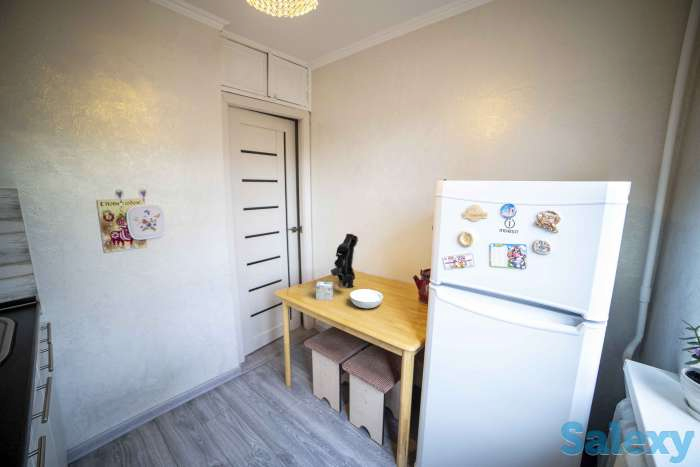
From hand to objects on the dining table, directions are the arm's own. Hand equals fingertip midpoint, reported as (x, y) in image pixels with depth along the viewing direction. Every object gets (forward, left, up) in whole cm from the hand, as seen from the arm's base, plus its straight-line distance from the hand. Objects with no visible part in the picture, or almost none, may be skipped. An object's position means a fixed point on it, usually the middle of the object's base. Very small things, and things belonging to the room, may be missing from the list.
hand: (342, 285), depth 191 cm
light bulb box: (+14, +1, -7) cm, 16 cm away
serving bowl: (-6, +22, -7) cm, 24 cm away
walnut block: (0, 0, -1) cm, 1 cm away
